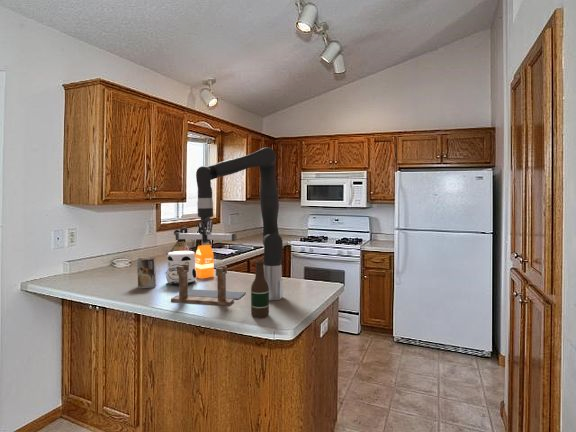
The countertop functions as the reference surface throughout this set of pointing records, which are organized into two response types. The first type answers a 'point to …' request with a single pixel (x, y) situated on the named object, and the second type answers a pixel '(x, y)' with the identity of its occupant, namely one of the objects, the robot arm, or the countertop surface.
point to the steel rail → (209, 236)
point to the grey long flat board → (214, 294)
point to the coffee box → (146, 272)
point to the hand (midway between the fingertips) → (206, 242)
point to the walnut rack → (202, 300)
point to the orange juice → (204, 261)
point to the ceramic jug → (180, 242)
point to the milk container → (177, 260)
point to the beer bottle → (259, 293)
